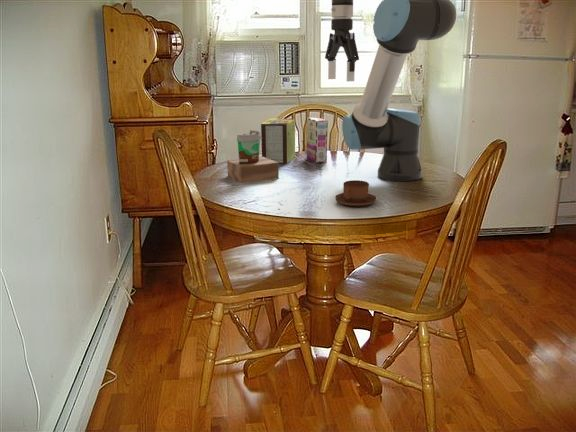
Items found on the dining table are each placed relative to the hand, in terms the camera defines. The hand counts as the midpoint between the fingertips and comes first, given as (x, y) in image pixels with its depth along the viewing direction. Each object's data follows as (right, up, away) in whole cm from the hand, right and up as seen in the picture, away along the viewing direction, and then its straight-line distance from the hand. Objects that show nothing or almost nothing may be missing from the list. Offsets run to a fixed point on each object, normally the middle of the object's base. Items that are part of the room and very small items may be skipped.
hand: (340, 80), depth 209 cm
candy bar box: (-8, -27, +20) cm, 35 cm away
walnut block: (-32, -36, -8) cm, 49 cm away
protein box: (-23, -27, +22) cm, 41 cm away
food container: (-31, -31, -10) cm, 45 cm away
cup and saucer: (+1, -46, -40) cm, 61 cm away
